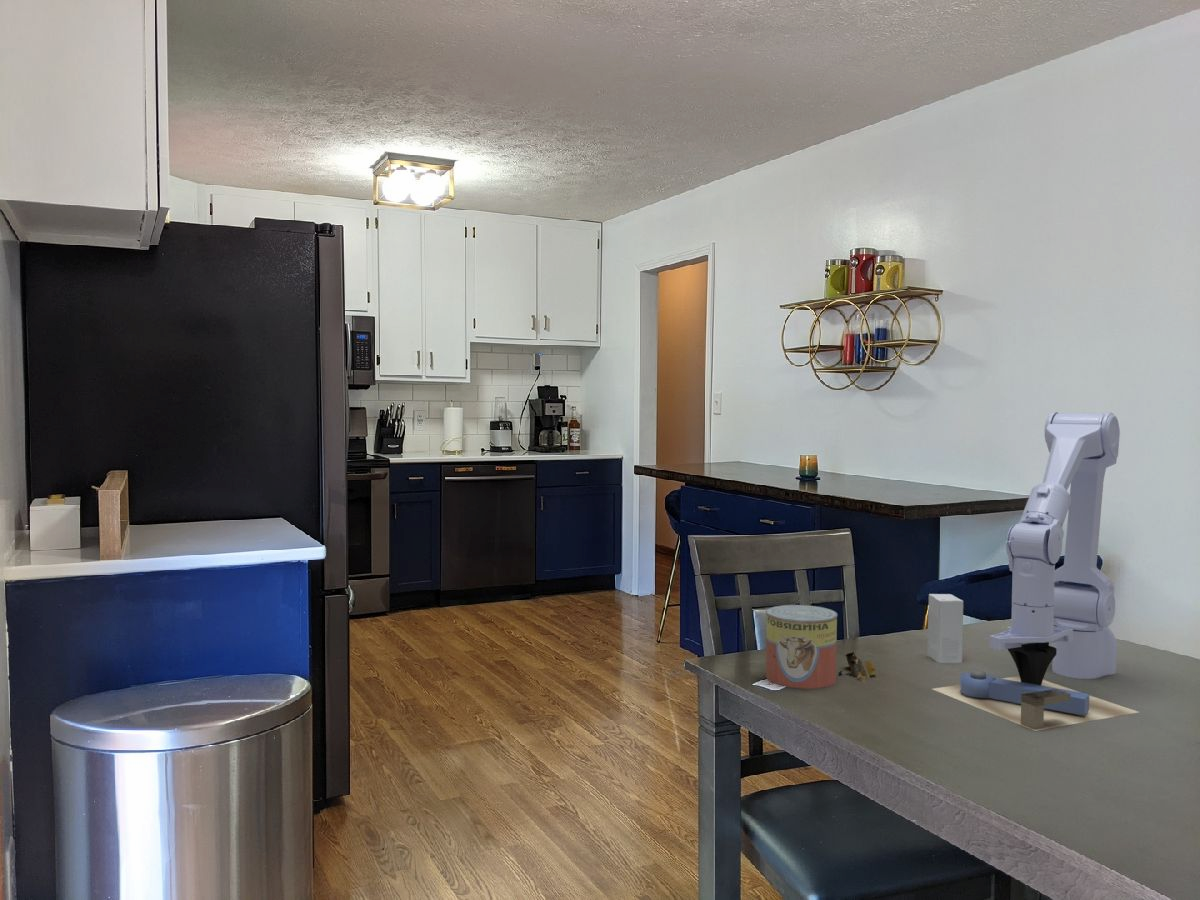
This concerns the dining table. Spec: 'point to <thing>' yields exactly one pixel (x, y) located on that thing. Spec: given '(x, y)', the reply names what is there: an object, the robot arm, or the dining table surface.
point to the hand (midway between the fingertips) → (1030, 692)
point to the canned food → (801, 646)
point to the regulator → (859, 667)
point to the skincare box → (945, 628)
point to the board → (1051, 717)
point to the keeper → (1039, 706)
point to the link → (1017, 692)
